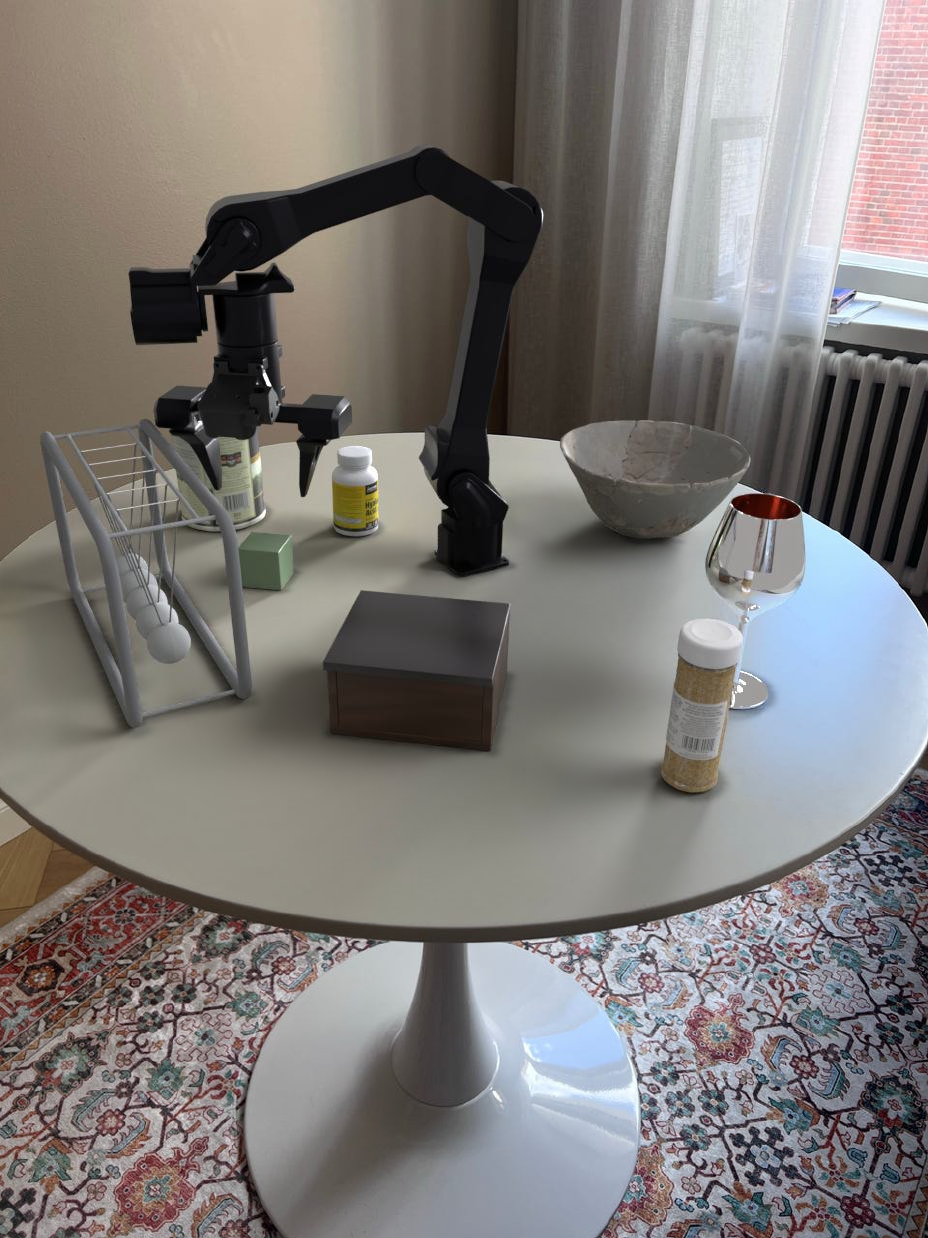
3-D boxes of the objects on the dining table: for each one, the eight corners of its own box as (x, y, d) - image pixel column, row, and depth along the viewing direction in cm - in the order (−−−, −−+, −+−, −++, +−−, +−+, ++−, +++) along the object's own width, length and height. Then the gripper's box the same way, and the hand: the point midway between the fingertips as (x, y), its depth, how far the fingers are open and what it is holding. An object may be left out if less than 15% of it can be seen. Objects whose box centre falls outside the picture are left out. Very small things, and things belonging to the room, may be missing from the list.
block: (254, 568, 109) (251, 531, 107) (294, 572, 109) (291, 534, 107) (240, 587, 105) (236, 548, 103) (281, 590, 105) (278, 552, 103)
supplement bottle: (371, 540, 116) (369, 461, 112) (327, 535, 117) (323, 456, 113) (384, 522, 121) (382, 445, 116) (341, 517, 122) (338, 441, 117)
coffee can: (223, 493, 128) (211, 385, 121) (283, 511, 123) (275, 400, 116) (162, 519, 120) (146, 406, 114) (224, 539, 116) (211, 423, 109)
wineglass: (675, 666, 93) (702, 488, 84) (759, 664, 94) (795, 487, 85) (701, 716, 86) (733, 527, 77) (791, 713, 87) (833, 525, 78)
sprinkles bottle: (722, 769, 80) (749, 624, 73) (709, 802, 76) (736, 652, 69) (667, 753, 81) (688, 610, 75) (652, 785, 78) (673, 637, 71)
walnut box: (490, 751, 81) (493, 681, 78) (330, 733, 83) (326, 665, 79) (506, 676, 91) (510, 611, 88) (363, 661, 93) (360, 598, 89)
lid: (492, 687, 77) (492, 679, 77) (323, 670, 79) (322, 662, 78) (510, 611, 88) (510, 603, 87) (360, 597, 89) (360, 589, 89)
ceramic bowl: (673, 482, 135) (682, 410, 130) (775, 551, 116) (791, 471, 111) (524, 501, 128) (528, 427, 123) (608, 578, 109) (616, 494, 104)
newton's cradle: (255, 707, 86) (237, 519, 77) (133, 739, 82) (98, 544, 73) (167, 569, 109) (145, 412, 100) (68, 588, 104) (36, 426, 96)
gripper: (117, 355, 89) (141, 516, 96) (318, 368, 86) (327, 531, 94) (168, 327, 98) (186, 475, 106) (350, 338, 96) (356, 488, 104)
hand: (261, 492), depth 102 cm, fingers open, 9 cm apart
